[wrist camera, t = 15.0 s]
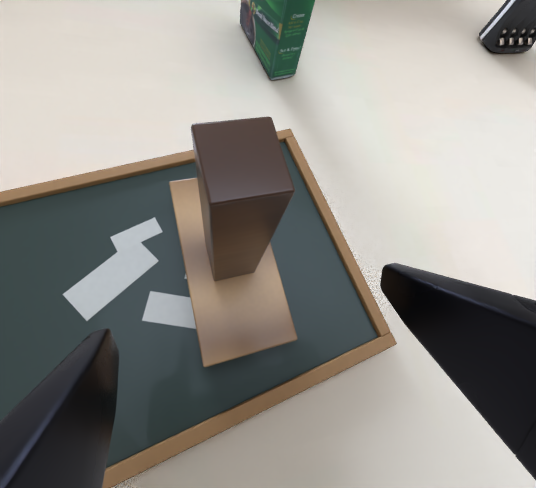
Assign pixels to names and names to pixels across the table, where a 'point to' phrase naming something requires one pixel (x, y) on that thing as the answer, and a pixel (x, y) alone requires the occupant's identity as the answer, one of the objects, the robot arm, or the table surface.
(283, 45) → the coffee box
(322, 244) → the slate board
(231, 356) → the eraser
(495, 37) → the battery charger
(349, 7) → the table surface
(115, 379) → the robot arm
